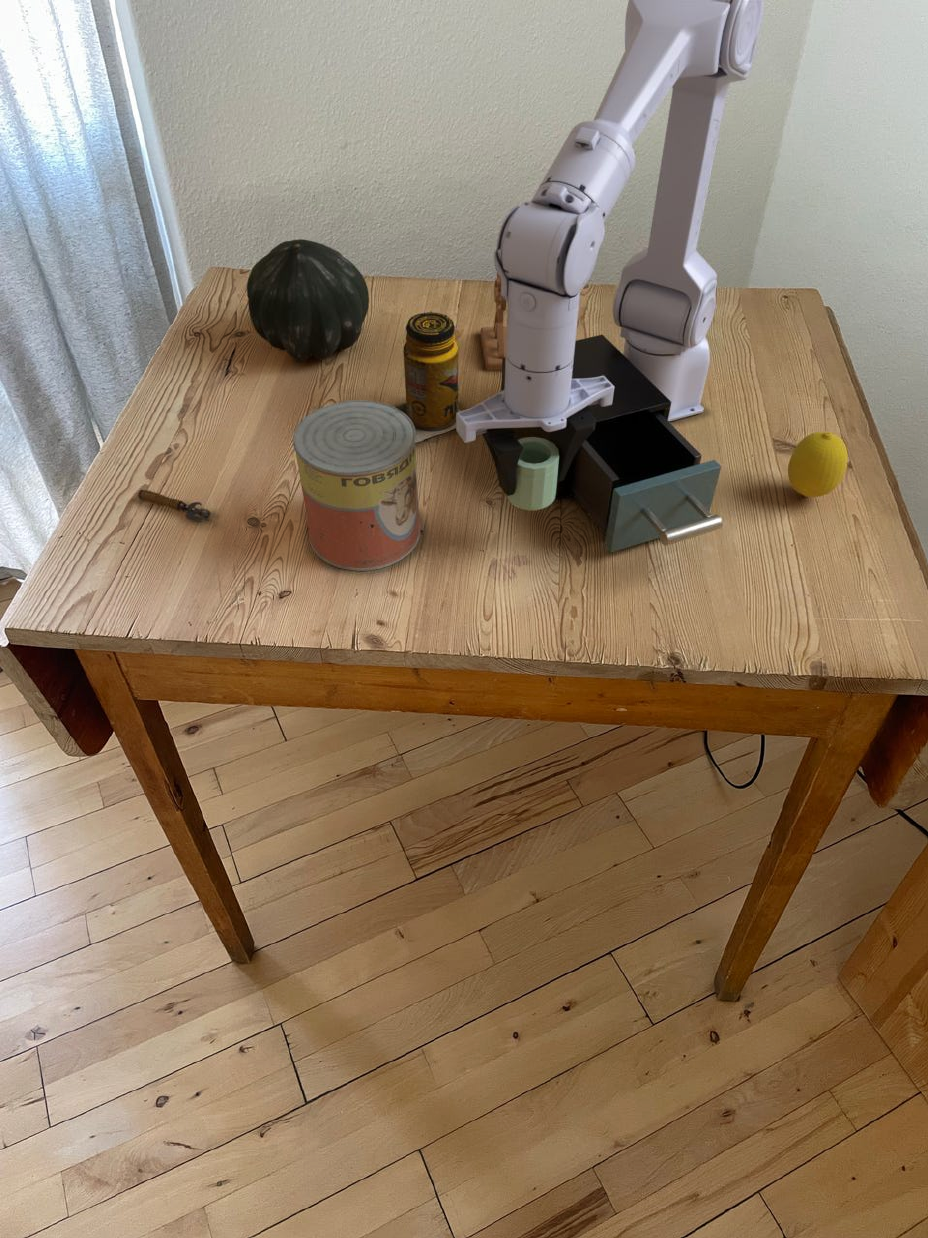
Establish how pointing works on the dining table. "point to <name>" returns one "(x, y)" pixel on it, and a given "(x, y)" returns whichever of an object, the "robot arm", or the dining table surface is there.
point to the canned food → (359, 483)
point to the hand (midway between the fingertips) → (531, 482)
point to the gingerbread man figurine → (495, 333)
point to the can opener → (176, 505)
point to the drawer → (644, 483)
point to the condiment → (431, 374)
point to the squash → (307, 299)
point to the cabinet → (629, 389)
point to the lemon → (817, 464)
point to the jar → (536, 474)
